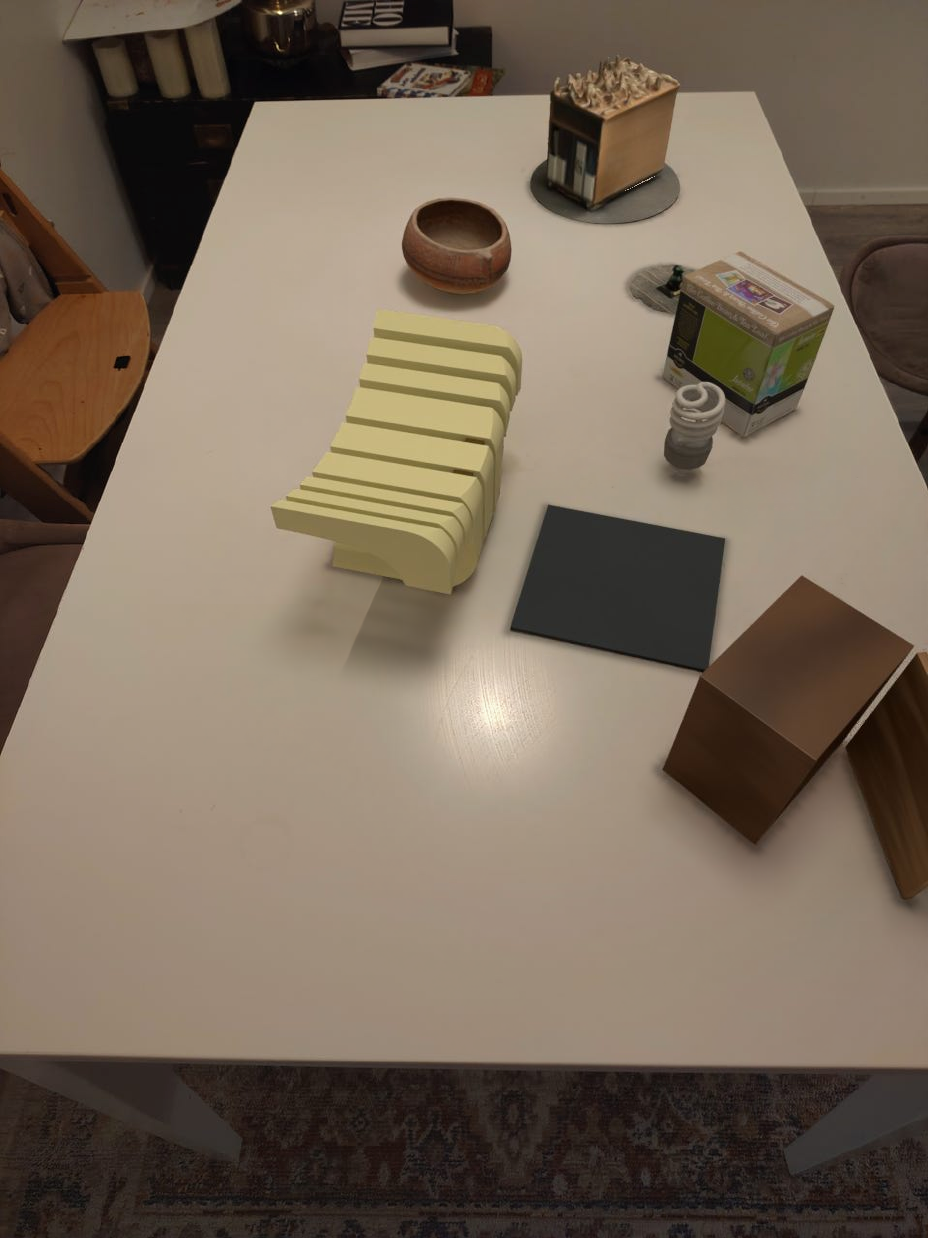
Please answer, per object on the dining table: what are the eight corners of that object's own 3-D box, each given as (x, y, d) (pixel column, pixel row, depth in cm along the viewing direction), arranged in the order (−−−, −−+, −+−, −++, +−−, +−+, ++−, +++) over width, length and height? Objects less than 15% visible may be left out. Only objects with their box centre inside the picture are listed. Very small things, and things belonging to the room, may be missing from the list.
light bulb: (670, 448, 101) (690, 365, 91) (712, 466, 99) (738, 384, 89) (648, 475, 98) (667, 393, 88) (691, 494, 96) (715, 412, 86)
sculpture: (700, 322, 116) (672, 276, 113) (647, 345, 123) (618, 302, 120) (723, 274, 122) (697, 228, 118) (671, 298, 129) (645, 256, 125)
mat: (724, 541, 92) (725, 538, 91) (706, 673, 81) (708, 670, 81) (547, 507, 95) (548, 504, 95) (510, 630, 85) (510, 626, 84)
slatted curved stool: (453, 657, 83) (448, 538, 69) (305, 626, 85) (270, 505, 71) (517, 458, 100) (523, 329, 86) (391, 437, 103) (377, 308, 88)
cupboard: (841, 743, 77) (914, 645, 64) (755, 845, 71) (816, 761, 58) (750, 678, 81) (801, 574, 68) (662, 769, 75) (699, 675, 62)
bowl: (491, 320, 117) (492, 253, 109) (389, 301, 120) (382, 234, 112) (523, 262, 126) (525, 196, 118) (426, 246, 129) (423, 180, 121)
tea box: (798, 409, 105) (839, 304, 93) (742, 440, 101) (777, 335, 89) (714, 350, 112) (742, 246, 100) (658, 377, 109) (680, 273, 97)
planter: (668, 232, 130) (693, 102, 115) (514, 212, 134) (519, 83, 119) (688, 160, 144) (712, 35, 129) (548, 143, 149) (556, 21, 134)
